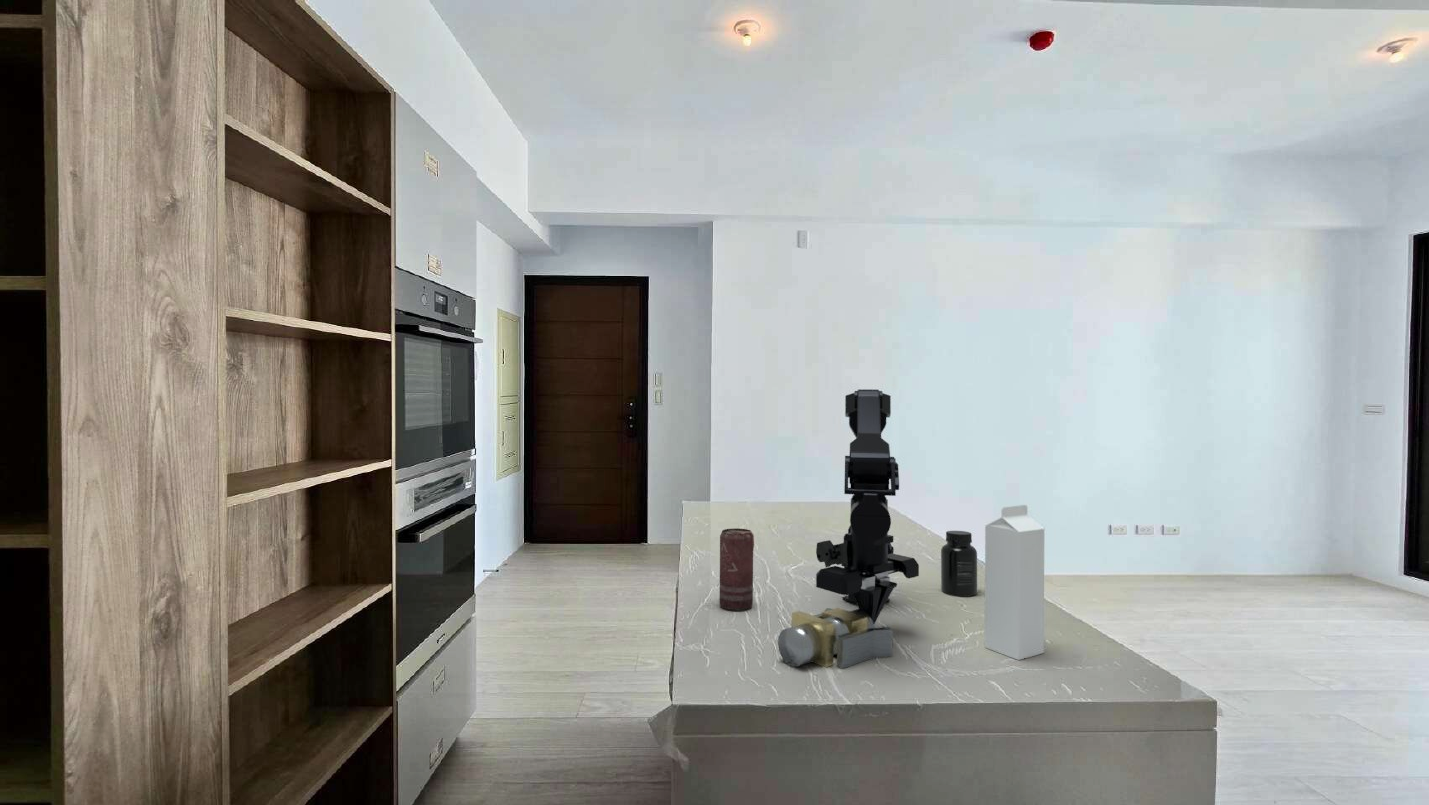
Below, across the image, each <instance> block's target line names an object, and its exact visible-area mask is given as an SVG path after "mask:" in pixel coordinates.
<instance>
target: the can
mask: <svg viewBox="0 0 1429 805" xmlns="http://www.w3.org/2000/svg"><path fill="white" fill-rule="evenodd" d="M753 533H754V532H752V530H750V529H747V528H737V527H736V528H724V529H722V531H721V533H720V535H719V599H718V600H719V605H720V607H721V608H722V609H723V610H726V611H731V612H742V611H748V610H750V609H751V608H752V606H753V603H754V602H753V601H754V590H753V589H754V550H755V549H754V548H755V538H754V537H755V535H754V534H753Z"/></svg>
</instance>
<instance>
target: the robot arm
mask: <svg viewBox="0 0 1429 805" xmlns="http://www.w3.org/2000/svg"><path fill="white" fill-rule="evenodd" d="M844 400H845V401H844V402H845V403H844V406H845V410H844V411H845V413H844V414H845V415H844V416H845V418H848V425H849V428H850V430H851V432H852V433H853V435H854V437H855V439H854V440H852V441H851V442H850V443H849V455H844V486H843V488H844V489H843V490H844V495H852V496H851V498H850V514H849V515H850V516H849V517H850V518H849V523H850V524H849V527H848V529H847V533H845V534H844V536H843V542H842V543H836V544H833V542H832V540H830V539H829V540H822V541H819V542H816V548H815V553H816V558H817V561H818V562H819V563H824V567H825V568H820V569H819V570H818V571H817V573H816V574H815V579H816V580H815V582H816V583H815V586H816V588H818V589H822V590H824V591H827V592H828V591H829V592H831V593H834V594H839V595H844V596H843V597H842V600H843V601H847V602H850V603H854V604H857V607H858V609H860V610H863V611H865V612H866V613H867V614H868V615H869V616H870V617H871V619H872V621H873V624H874V625H875V624H876V622H877V621H878V618H879V616H880V613H881V612H882V610H883V608H884V606H885V604H887V603H890V602H891V599H890V598H889V597H890V595H891V594H892V592H893V590H894V589H895V588H897V586H898V583H896V582H895V581H894V582H893V581H891V577H890V576H889V575H891V574H895V573H898V572H899V573H902V574H903V575H904V577H905V578H906V579H912V578H913V579H914V578H918V577H919V576H920V570H919V569H920V568H919V567H920V565H919V563H918V561H917V560H916V558H914V557H911V556H907V555H906V556H905V555H901V554H898V553H897V554H896V553H894V551H895V550H894V547H893V546H892V543H894V535H892V534H891V535H890V534H888V533H889V531H890V529H891V524H892V518H891V515H890V511H889V508H888V506H889V505H888V504H889V502H888V501H889V500H888V499H887V497H888V496H889V497H890V496H891V497H894V496H895V497H896V496H897V495H896V494H897V493H896V491H899V490H900V474H899V464H898V462H897V461H896V457H895V456H891V451H890V444H889V443H888V442H887V441H886V440H885V439H883V438H882V433H883V432H884V430H885V428H886V426H887V418H891V409H892V408H891V407H892V406H891V402H892V401H891V395H889V394H886V393H883V391H882V390H879V389H873V388H872V389H869V388H868V389H867V388H866V389H860V388H859V389H857V390H854V392H852V393H849V394H846V395H845V399H844ZM849 484H850V487H849ZM886 496H887V497H886ZM832 565H833V566H832ZM840 565H841V566H840Z"/></svg>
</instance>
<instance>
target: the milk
mask: <svg viewBox="0 0 1429 805" xmlns="http://www.w3.org/2000/svg"><path fill="white" fill-rule="evenodd" d="M984 532H985V533H984V534H985V536H984V540H985V544H984V546H985V547H984V549H985V550H984V551H985V553H984V556H985V557H984V565H985V566H984V648H985V649H988V650H989V651H990V650H991V651H993V652H996V653H999V654H1001V655H1003V656H1005V657H1009V658H1011V659H1014V660H1016V661H1017V660H1018V661H1020V660H1024V658H1025V659H1028V658H1031V657H1035V656H1038V655H1042V654H1044V653H1045V528H1044V527H1043V526H1042V525H1041V524H1040V523H1038V522H1037V521H1036V520H1034V519H1033V518H1032V517H1031V516H1030V515H1029V514H1028V506H1027V505H1026V504H1024V505H1023V504H1022V505H1021V504H1019V505H1011V506H1003V507H1002V508H1001V517H1000V518H997V519H995V520H993V521H991V522H990V523H988V524H986V525H985V527H984Z"/></svg>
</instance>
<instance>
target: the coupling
mask: <svg viewBox="0 0 1429 805" xmlns="http://www.w3.org/2000/svg"><path fill="white" fill-rule="evenodd" d="M832 609H833V608H828V607H827V608H826V609H825V610H823V612H825V611H828V610H832ZM777 646H778V651H779V653H780V656H781V658H782V660H783V661H784V662H785V663H786V664H787V665H788V666H790V667H799V666H802V665H805V664H808V663H811V662H812V663H814V664H817V665H819V666H822V667H824V668H829V667H830V666H834V655H833V647H834V623H833V622H830V621H827V620H824V619H822V612H821V613H818V614H817V613H816V614H814V615H812V614H809V613H807V612H804V611H801V610H798V611H795V612H791V627H788V628H784V629H781V631H780V633H779V635H778V639H777ZM889 657H893V629H892V628H891V627H874V628H870V629H866V630H862V631H859V632H856V633H853V634H849V635H846V636H843V637H840V638H837V654H836V667H837V668H840V669H843V670H844V669H846V668H848V667H851V666H855V665H858V664H859V663H863V662H865V661H868V660H871V659H873V658H874V659H876V658H889Z"/></svg>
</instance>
